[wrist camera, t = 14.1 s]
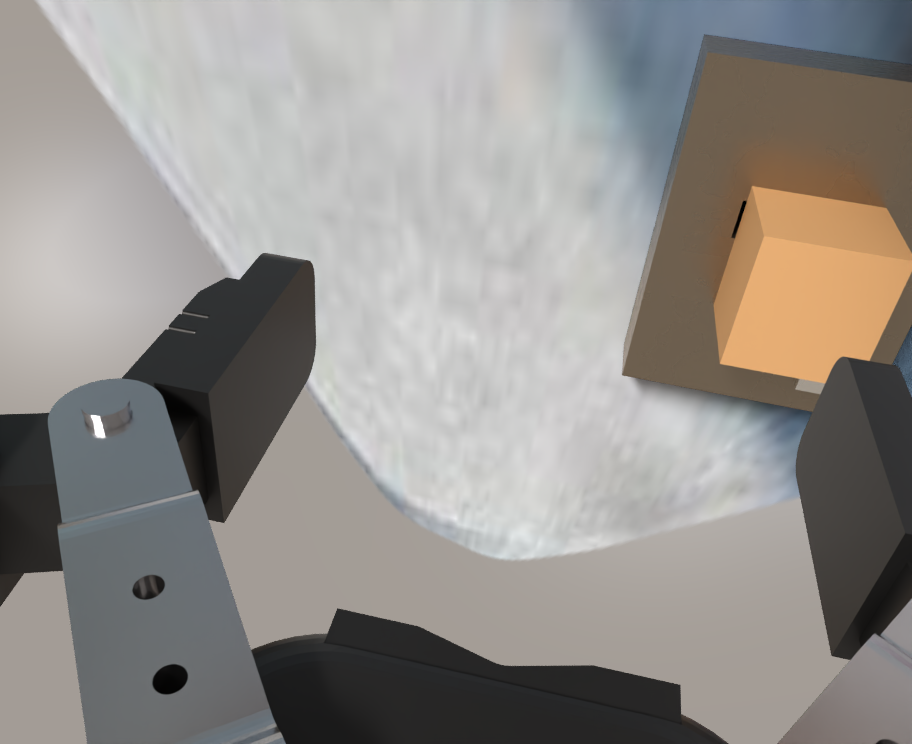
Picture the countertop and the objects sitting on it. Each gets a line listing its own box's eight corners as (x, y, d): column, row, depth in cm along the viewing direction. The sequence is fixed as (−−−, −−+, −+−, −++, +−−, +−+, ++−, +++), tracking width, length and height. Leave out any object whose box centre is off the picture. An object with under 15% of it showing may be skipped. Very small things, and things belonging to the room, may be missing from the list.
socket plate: (704, 34, 35) (708, 56, 32) (998, 77, 34) (1030, 104, 31) (624, 343, 45) (621, 381, 42) (852, 386, 43) (866, 428, 40)
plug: (746, 165, 37) (764, 235, 31) (874, 185, 37) (916, 261, 31) (710, 280, 41) (719, 363, 35) (826, 300, 40) (855, 389, 34)
